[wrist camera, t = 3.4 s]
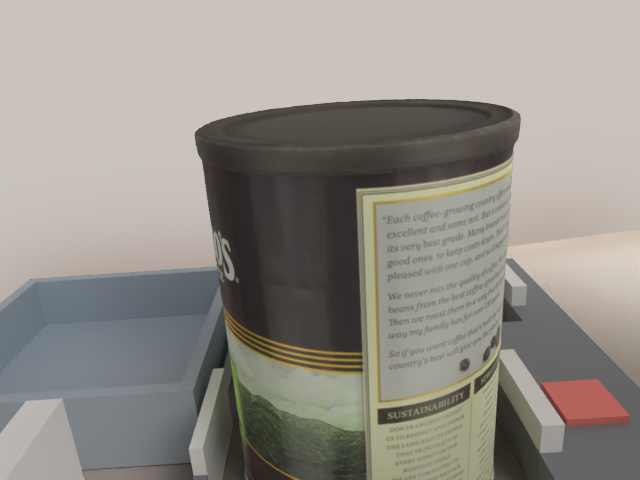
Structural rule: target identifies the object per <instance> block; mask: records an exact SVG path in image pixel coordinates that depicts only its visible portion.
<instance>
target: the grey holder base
mask: <svg viewBox="0 0 640 480" xmlns="http://www.w3.org/2000/svg"><path fill="white" fill-rule="evenodd" d="M236 411H237V403H236V396H235V389H234V382H233V375H232V368H231V361H230V353H229V349H228V352H227V356H226V360H225V363H224V367H223V368H218V369H213V371H212V374H211V377H210V381H209V384H208V387H207V391H206V394H205V397H204V400H203V404H202V407H201V410H200V414H199V417H198V420H197V423H196V427H195V430H194V433H193V436H192V440H191V443H190V446H189V453H190V459H191V464H192V470H193V475H194V476H193V480H222V479H223V474H224V469H225V464H226V460H227V455H228V450H229V445H230V440H231V435H232V430H233V425H234V420H235V416H236ZM496 419H497V421H498V423H499V425H500V427H501V429H502V431H503V433H504V435H505V437H506V439H507V441H508V443H509V445H510V447H511V449H512V451H513V453H514V455H515V456H516V458H517V460H518V462H519V464H520V466H521V468H522V470H523V472H524V474H525V476H526V478H527V480H640V389H639V388H638V387H637V386H636V385H635V384H634V383H633V382H632V381H631V380H630V379H629V378H628V376H627V375H626V374H625V373H624V372H623V371H622V370H621V369H620V368H619V367H618V366H617V365H616V364H615V363H614V362H613V361H612V360H611V359H610V358H609V357H608V356H607V355H606V354H605V353H604V352H603V351H602V350H601V349H600V348H599V347H598V346H597V345H596V344H595V343H594V342H593V341H592V340H591V339H590V338H589V337H588V336H587V335H586V334H585V333H584V331H583V330H582V329H581V328H580V327H579V326H578V325H577V324H576V323H575V322H574V321H573V320H572V319H571V318H570V317H569V316H568V315H567V314H566V313H565V312H564V311H563V310H562V309H561V308H560V307H559V306H558V305H557V304H556V303H555V302H554V301H553V300H552V299H551V298H550V297H549V296H548V295H547V294H546V293H545V292H544V291H543V290H542V289H541V287H540V286H539V285H538V284H537V283H536V282H535V281H534V280H533V279H532V278H531V277H530V276H529V275H528V274H527V273H526V272H525V271H524V270H523V269H522V268H521V267H520V266H519V265H518V264H517V263H516V262H515V261H514V260H513V259H506V270H505V285H504V299H503V315H502V330H501V349H500V360H499V376H498V392H497V407H496Z"/></svg>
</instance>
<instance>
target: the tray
mask: <svg viewBox="0 0 640 480" xmlns="http://www.w3.org/2000/svg"><path fill="white" fill-rule="evenodd" d="M228 349H229V346H228V339H227V332H226V325H225V317H224V311H223V304H222V298H221V292H220V284H219V276H218V270H217V267H205V268H191V269H175V270H160V271H146V272H131V273H116V274H100V275H86V276H70V277H57V278H56V277H55V278H41V279H30V280H29V281H27V282H26V283H25V284H24V285H23V286H21V287H20V288H19V289H18V290H16V291H15V292H14V293H13V294H12V295H10V296H9V297H8V298H7V299H5V300H4V301H3V302H2V303H0V433H1V432H2V431H3V429H4V428H5V427H6V426H7V424H8V423H9V422H10V421H11V419H12V418H13V417H14V416H15V414H16V413H17V412H18V411H19V409H20V408H21V407H22V406H23V404H24V403H25V402H26V401H33V400H47V399H61V398H62V399H63V403H64V406H65V410H66V414H67V417H68V421H69V425H70V428H71V432H72V436H73V439H74V443H75V447H76V450H77V454H78V458H79V461H80V465H81V469H82V470H88V469H103V468H118V467H134V466H149V465H165V464H180V463H191V459H190V453H189V446H190V443H191V440H192V436H193V433H194V430H195V427H196V423H197V420H198V417H199V414H200V410H201V407H202V404H203V400H204V397H205V394H206V391H207V387H208V384H209V381H210V377H211V374H212V371H213V369H218V368H223V367H224V363H225V360H226V356H227V352H228Z"/></svg>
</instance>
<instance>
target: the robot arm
mask: <svg viewBox="0 0 640 480" xmlns="http://www.w3.org/2000/svg"><path fill="white" fill-rule="evenodd" d="M0 480H84V476H83V472H82V469H81V465H80V461H79V458H78V454H77V450H76V447H75V443H74V439H73V436H72V432H71V428H70V425H69V421H68V417H67V414H66V410H65V406H64V403H63V399H62V398H61V399H47V400H33V401H26V402H25V403H24V404H23V406H22V407H21V408H20V409H19V411H18V412H17V413H16V414H15V416H14V417H13V418H12V419H11V421H10V422H9V423H8V424H7V426H6V427H5V428H4V429H3V431H2V432H1V433H0Z"/></svg>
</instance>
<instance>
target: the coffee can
mask: <svg viewBox="0 0 640 480" xmlns="http://www.w3.org/2000/svg"><path fill="white" fill-rule="evenodd" d="M520 121H521V119H520V114H519V113H518V112H516V111H514V110H512V109H509V108H507V107H504V106H499V105H495V104H489V103H481V102H471V101H458V100H428V99H405V100H372V101H371V100H370V101H351V102H335V103H323V104H313V105H303V106H293V107H288V108H278V109H269V110H263V111H258V112H253V113H245V114H241V115H236V116H232V117H227V118H224V119H220V120H217V121H213V122H210V123H209V124H207V125H204V126H203V127H201V128H199V129H198V130H197V131H196V132H195V140H196V146H197V151H198V154H199V156H200V157H201V159H202V162H203V169H204V175H205V184H206V191H207V199H208V206H209V211H210V218H211V225H212V234H213V242H214V250H215V257H216V261H217V270H218V276H219V284H220V292H221V298H222V304H223V311H224V317H225V325H226V332H227V339H228V346H229V353H230V361H231V368H232V375H233V382H234V389H235V396H236V403H237V412H238V417H239V427H240V433H241V439H242V448H243V455H244V461H245V466H244V474H245V480H494V464H493V460H494V458H493V454H494V440H495V423H496V407H497V392H498V376H499V360H500V349H501V330H502V315H503V299H504V285H505V270H506V254H507V242H508V227H509V211H510V196H511V180H512V166H513V147H514V144H515V142H516V141H517V139H518V137H519V130H520Z"/></svg>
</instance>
